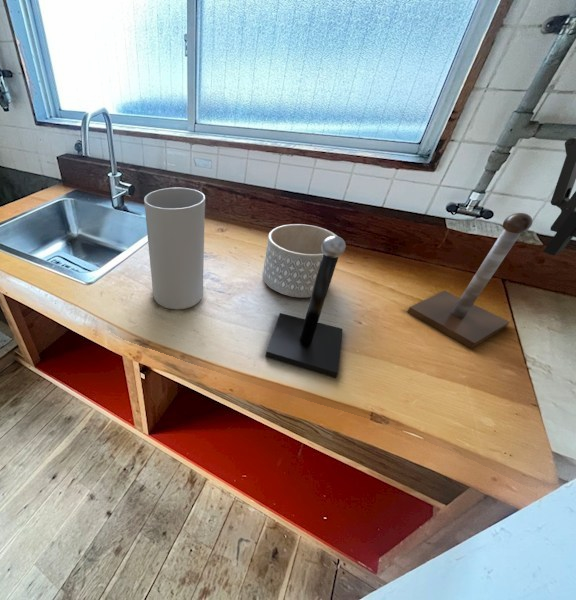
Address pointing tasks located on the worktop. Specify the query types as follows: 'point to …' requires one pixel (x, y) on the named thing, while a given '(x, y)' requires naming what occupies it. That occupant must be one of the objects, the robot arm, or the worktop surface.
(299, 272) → the planter
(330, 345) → the black holder
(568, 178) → the robot arm
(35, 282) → the worktop surface
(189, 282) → the cylinder vase
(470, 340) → the paper towel stand
